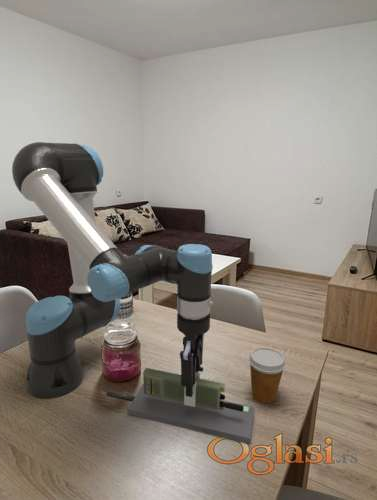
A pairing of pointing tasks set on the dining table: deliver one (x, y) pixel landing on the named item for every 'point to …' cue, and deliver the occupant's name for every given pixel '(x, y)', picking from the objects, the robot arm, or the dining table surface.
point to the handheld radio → (172, 389)
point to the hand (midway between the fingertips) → (191, 399)
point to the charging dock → (192, 416)
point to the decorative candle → (126, 306)
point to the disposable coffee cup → (266, 373)
